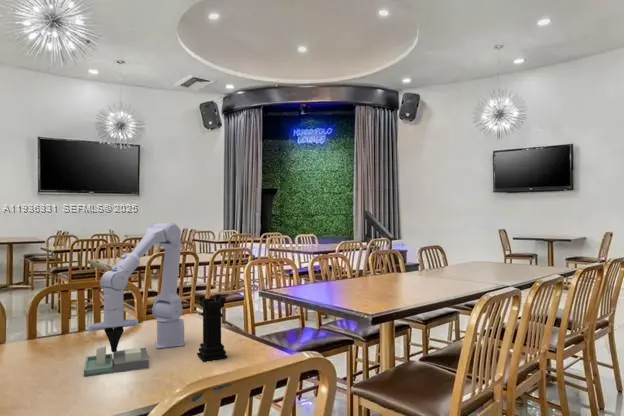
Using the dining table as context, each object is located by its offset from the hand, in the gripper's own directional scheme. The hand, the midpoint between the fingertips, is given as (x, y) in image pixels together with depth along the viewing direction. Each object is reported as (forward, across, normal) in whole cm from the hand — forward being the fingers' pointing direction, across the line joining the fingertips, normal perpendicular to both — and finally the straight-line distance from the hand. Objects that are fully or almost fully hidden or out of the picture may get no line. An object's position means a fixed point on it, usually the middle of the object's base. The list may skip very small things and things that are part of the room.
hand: (113, 351), depth 146 cm
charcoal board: (+4, -4, +3) cm, 7 cm away
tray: (+4, +5, +2) cm, 6 cm away
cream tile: (+1, +2, -1) cm, 3 cm away
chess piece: (+4, -29, +10) cm, 31 cm away
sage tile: (+1, -5, +7) cm, 8 cm away
